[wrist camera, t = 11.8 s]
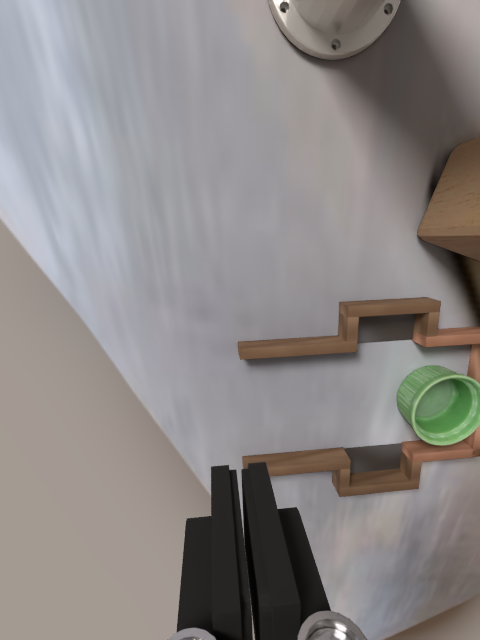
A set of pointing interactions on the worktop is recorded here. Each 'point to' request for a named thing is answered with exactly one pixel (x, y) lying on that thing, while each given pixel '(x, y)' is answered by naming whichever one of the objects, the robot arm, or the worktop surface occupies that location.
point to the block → (456, 204)
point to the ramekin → (440, 404)
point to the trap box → (354, 327)
